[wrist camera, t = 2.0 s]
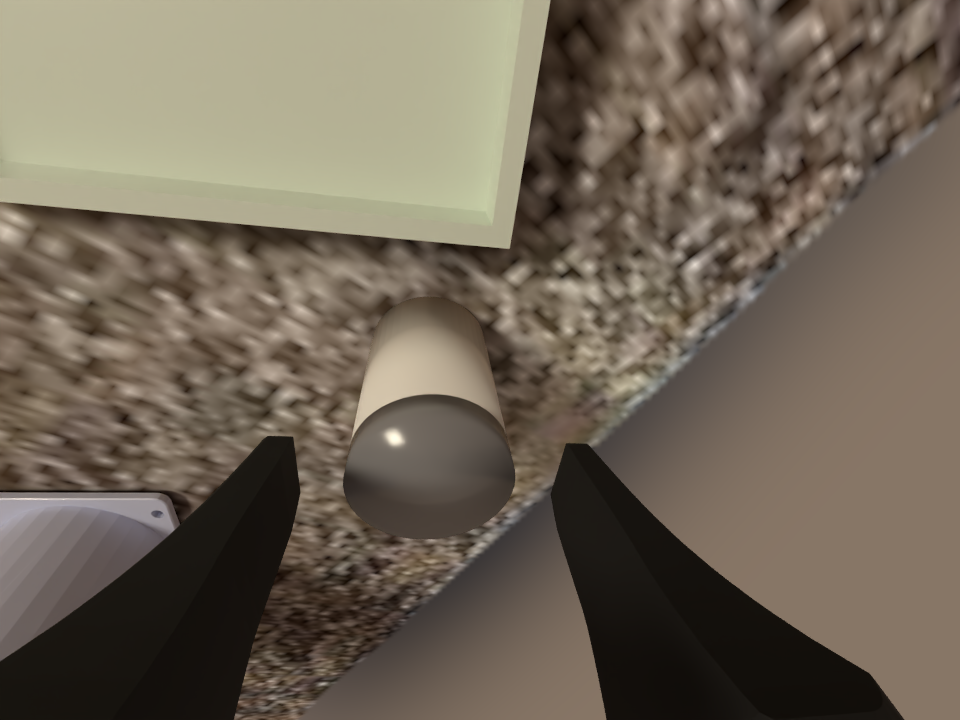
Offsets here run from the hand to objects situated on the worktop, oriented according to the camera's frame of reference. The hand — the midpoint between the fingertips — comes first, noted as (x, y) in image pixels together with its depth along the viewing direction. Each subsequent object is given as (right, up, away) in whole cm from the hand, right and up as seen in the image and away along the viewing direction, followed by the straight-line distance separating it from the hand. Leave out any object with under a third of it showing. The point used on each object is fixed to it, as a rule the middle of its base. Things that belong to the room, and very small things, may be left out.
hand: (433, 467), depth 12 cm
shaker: (-1, +3, +5) cm, 6 cm away
